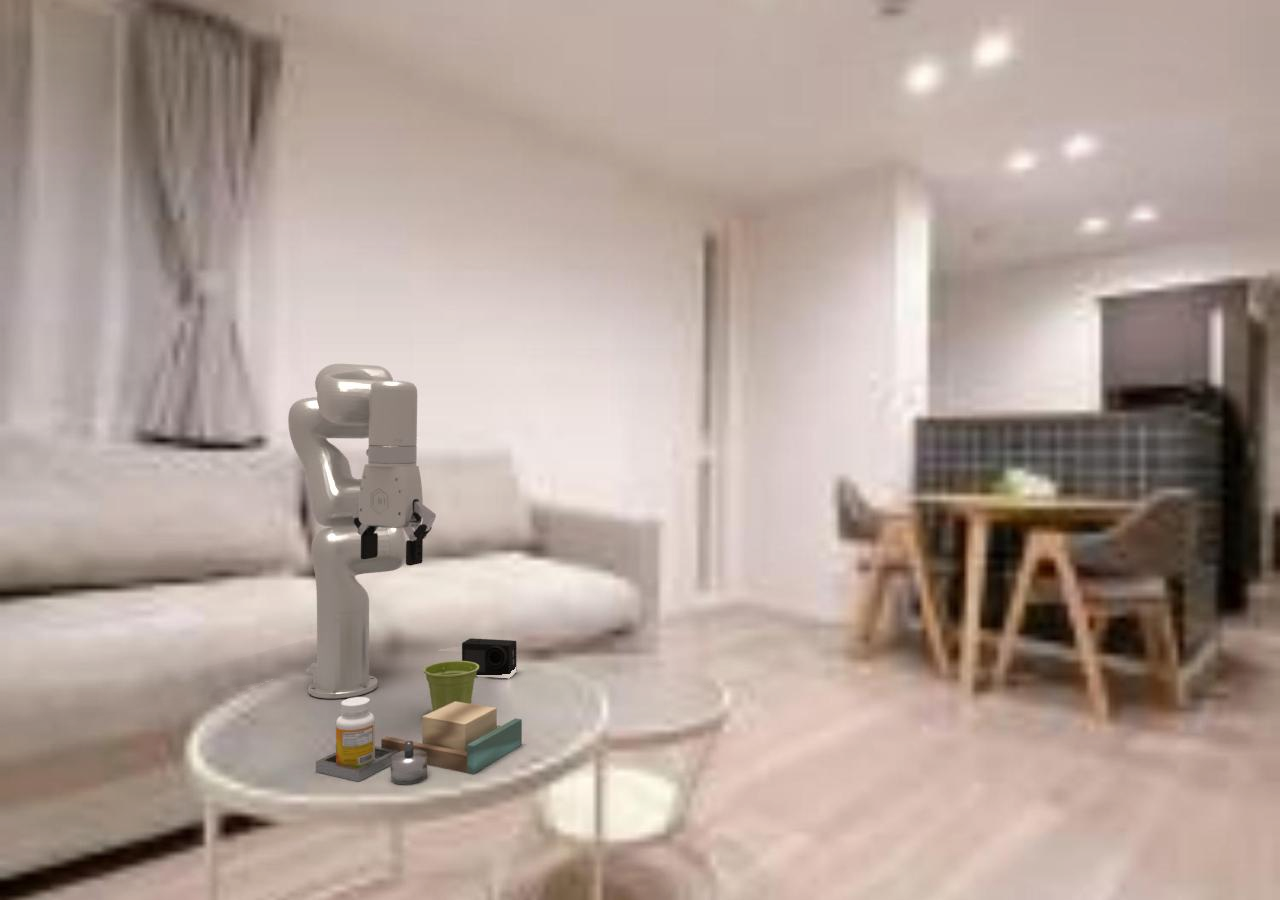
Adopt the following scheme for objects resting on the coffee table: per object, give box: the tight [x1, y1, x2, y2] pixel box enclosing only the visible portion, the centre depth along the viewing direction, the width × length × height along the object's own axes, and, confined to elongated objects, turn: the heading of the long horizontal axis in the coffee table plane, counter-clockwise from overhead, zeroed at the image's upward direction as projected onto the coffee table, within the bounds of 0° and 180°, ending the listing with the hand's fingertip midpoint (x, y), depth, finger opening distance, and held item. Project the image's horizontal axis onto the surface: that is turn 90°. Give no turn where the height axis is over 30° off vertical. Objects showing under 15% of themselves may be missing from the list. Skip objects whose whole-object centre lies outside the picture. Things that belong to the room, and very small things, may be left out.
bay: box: [380, 701, 523, 775], centre depth 123 cm, size 17×12×6 cm
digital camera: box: [461, 638, 517, 675], centre depth 164 cm, size 10×5×7 cm, turn 78°
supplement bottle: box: [335, 696, 376, 768], centre depth 117 cm, size 5×5×10 cm
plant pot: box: [423, 660, 479, 712], centre depth 138 cm, size 9×9×9 cm
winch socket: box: [315, 740, 428, 786], centre depth 115 cm, size 16×8×5 cm, turn 65°
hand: (391, 561), depth 130 cm, fingers open, 9 cm apart
